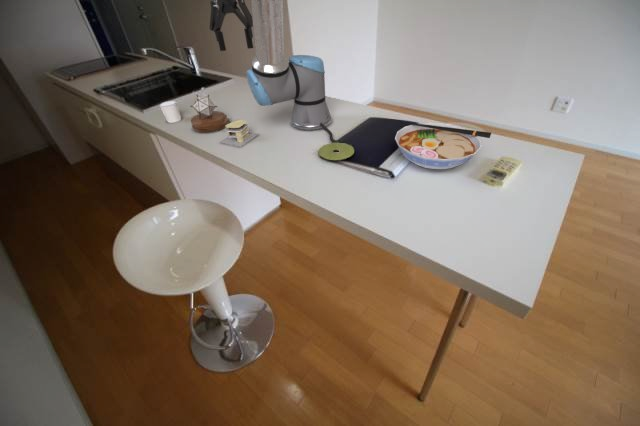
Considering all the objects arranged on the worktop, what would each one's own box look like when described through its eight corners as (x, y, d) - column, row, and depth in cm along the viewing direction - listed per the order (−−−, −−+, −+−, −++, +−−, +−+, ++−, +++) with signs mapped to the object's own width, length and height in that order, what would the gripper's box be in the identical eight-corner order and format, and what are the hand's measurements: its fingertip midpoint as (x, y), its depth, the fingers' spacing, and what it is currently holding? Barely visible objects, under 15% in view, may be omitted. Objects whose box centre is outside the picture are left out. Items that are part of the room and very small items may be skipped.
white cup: (186, 117, 123) (180, 101, 119) (174, 124, 119) (167, 107, 114) (174, 116, 126) (168, 99, 121) (162, 122, 121) (155, 105, 116)
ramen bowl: (376, 170, 83) (379, 144, 78) (403, 138, 97) (406, 114, 92) (469, 193, 72) (479, 165, 67) (484, 153, 87) (493, 127, 81)
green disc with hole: (352, 166, 86) (352, 160, 84) (315, 164, 87) (315, 159, 86) (355, 148, 94) (355, 142, 93) (321, 147, 96) (321, 141, 94)
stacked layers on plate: (239, 131, 109) (235, 117, 106) (258, 135, 106) (255, 120, 102) (221, 142, 103) (216, 128, 99) (240, 146, 99) (236, 131, 96)
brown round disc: (233, 127, 113) (230, 118, 111) (197, 136, 108) (193, 127, 106) (223, 115, 123) (221, 107, 120) (190, 123, 118) (187, 115, 115)
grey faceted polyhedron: (209, 127, 114) (195, 113, 104) (196, 115, 116) (181, 101, 107) (225, 111, 115) (212, 96, 105) (211, 99, 117) (197, 83, 107)
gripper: (257, -23, 101) (268, 46, 112) (204, -12, 111) (218, 51, 122) (244, -26, 96) (257, 47, 107) (189, -14, 105) (206, 52, 116)
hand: (236, 49), depth 114 cm, fingers open, 13 cm apart
